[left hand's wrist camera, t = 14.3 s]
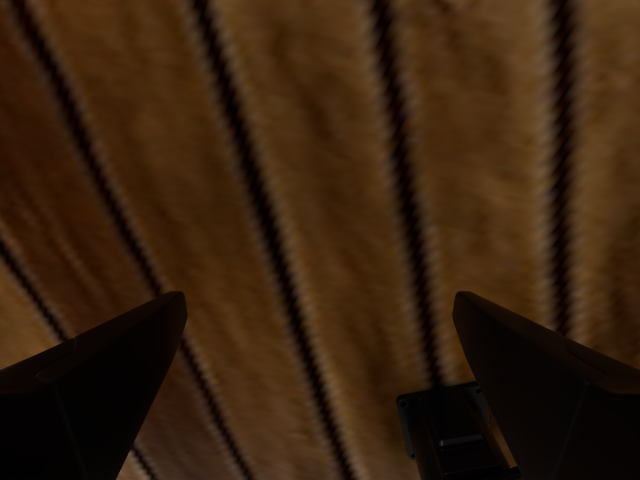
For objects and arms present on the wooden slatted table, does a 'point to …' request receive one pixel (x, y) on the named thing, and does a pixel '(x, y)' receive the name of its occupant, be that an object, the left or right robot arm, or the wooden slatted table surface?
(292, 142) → the wooden slatted table surface
